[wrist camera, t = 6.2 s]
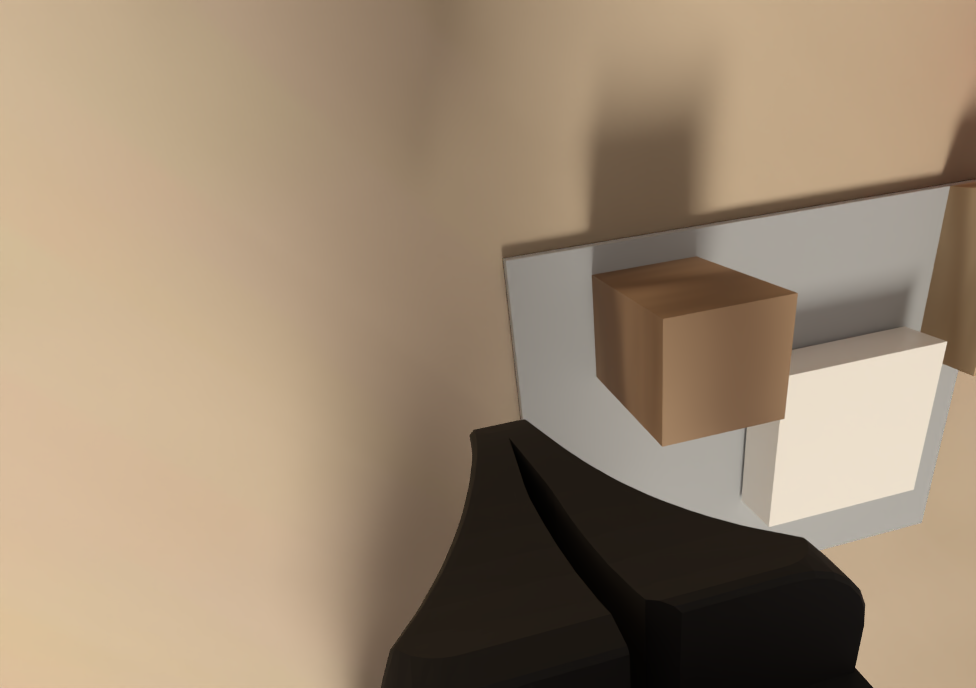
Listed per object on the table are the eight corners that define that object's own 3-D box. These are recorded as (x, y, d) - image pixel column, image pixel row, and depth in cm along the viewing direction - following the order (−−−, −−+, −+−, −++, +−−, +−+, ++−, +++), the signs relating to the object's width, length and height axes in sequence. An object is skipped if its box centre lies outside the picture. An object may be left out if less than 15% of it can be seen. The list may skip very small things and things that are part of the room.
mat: (543, 617, 25) (545, 624, 24) (502, 258, 18) (505, 260, 18) (914, 517, 27) (921, 522, 27) (994, 176, 21) (1004, 176, 21)
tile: (768, 526, 22) (913, 489, 23) (784, 376, 19) (947, 341, 20) (739, 498, 24) (874, 464, 25) (749, 356, 21) (901, 325, 22)
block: (596, 376, 20) (662, 446, 16) (591, 274, 19) (662, 319, 14) (693, 357, 21) (784, 418, 16) (696, 256, 19) (798, 292, 15)
